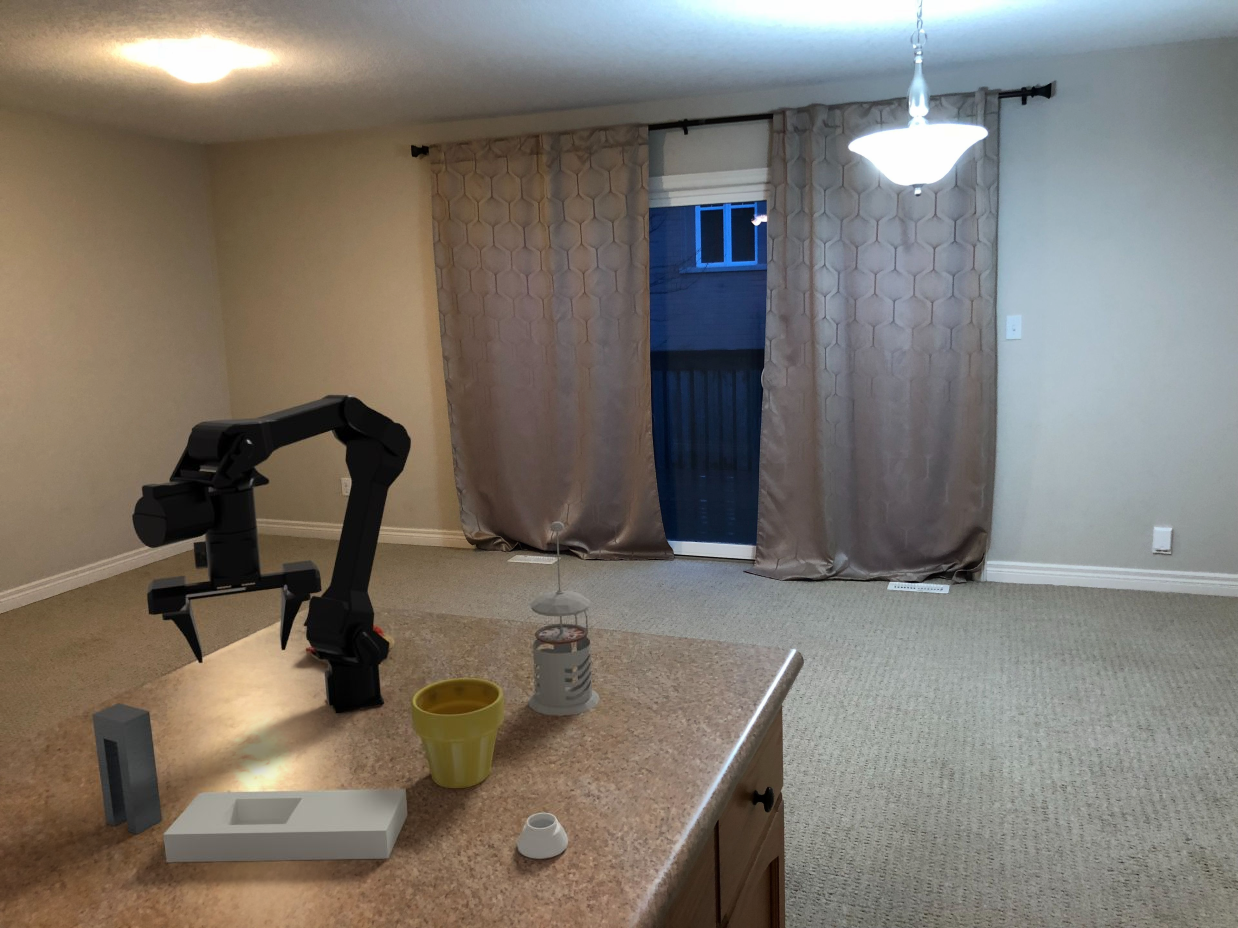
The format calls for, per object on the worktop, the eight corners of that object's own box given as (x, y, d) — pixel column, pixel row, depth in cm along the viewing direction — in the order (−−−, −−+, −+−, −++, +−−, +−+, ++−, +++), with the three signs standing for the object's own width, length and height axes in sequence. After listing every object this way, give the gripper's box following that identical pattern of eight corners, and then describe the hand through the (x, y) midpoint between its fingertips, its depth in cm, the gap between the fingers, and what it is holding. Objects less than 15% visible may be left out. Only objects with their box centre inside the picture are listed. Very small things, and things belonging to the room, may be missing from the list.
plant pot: (509, 792, 105) (505, 709, 103) (414, 802, 103) (408, 718, 101) (504, 749, 115) (500, 673, 113) (418, 758, 113) (413, 681, 111)
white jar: (520, 865, 91) (571, 857, 92) (519, 837, 91) (570, 830, 92) (515, 837, 96) (563, 830, 97) (513, 811, 96) (562, 804, 97)
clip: (132, 809, 103) (118, 703, 101) (162, 820, 101) (149, 711, 99) (106, 823, 101) (92, 714, 98) (136, 834, 98) (122, 722, 96)
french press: (515, 709, 126) (506, 527, 122) (553, 677, 137) (546, 508, 132) (582, 719, 122) (575, 532, 118) (615, 685, 133) (610, 512, 129)
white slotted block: (202, 818, 101) (200, 792, 100) (407, 814, 101) (405, 788, 100) (166, 862, 93) (163, 834, 93) (388, 858, 93) (386, 830, 92)
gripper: (306, 507, 121) (315, 623, 124) (145, 523, 114) (158, 647, 116) (317, 524, 111) (326, 650, 114) (140, 543, 104) (155, 678, 106)
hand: (242, 655), depth 113 cm, fingers open, 9 cm apart
